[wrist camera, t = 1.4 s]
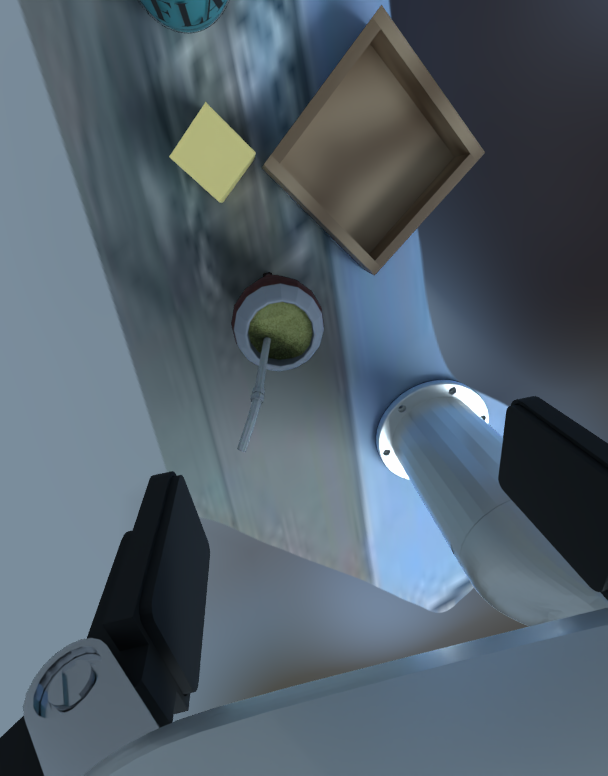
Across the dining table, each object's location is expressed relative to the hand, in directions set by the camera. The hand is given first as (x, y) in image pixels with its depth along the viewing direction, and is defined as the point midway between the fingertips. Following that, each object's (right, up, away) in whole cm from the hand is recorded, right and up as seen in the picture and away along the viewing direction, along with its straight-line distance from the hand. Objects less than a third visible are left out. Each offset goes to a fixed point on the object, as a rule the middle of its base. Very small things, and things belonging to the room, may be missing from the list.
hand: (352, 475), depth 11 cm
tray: (+3, +20, +19) cm, 28 cm away
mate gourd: (-4, +9, +23) cm, 26 cm away
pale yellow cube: (-8, +20, +18) cm, 28 cm away
